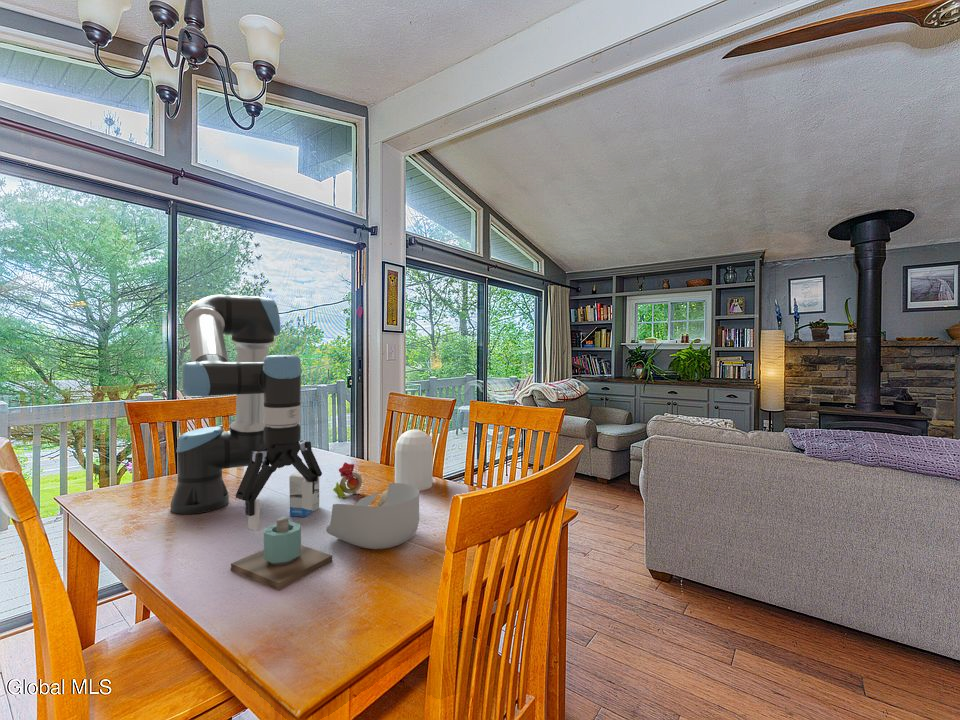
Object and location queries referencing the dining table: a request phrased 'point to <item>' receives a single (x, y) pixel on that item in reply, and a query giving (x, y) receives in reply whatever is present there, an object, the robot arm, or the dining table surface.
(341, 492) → the bird rattle
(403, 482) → the container
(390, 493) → the bowl
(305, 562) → the shaft board
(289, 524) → the collar
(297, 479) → the ink box
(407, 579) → the dining table surface
